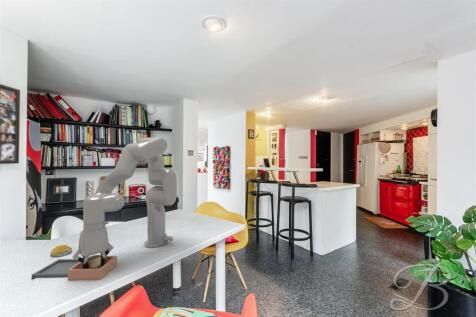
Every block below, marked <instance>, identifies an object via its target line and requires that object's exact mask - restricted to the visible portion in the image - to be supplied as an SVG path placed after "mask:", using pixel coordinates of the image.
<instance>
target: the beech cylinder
mask: <svg viewBox="0 0 476 317" xmlns="http://www.w3.org/2000/svg"><path fill="white" fill-rule="evenodd" d="M87 263H88V269H100V268H101V255H100V254H94V255H90V257H88V260H87Z"/></svg>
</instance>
